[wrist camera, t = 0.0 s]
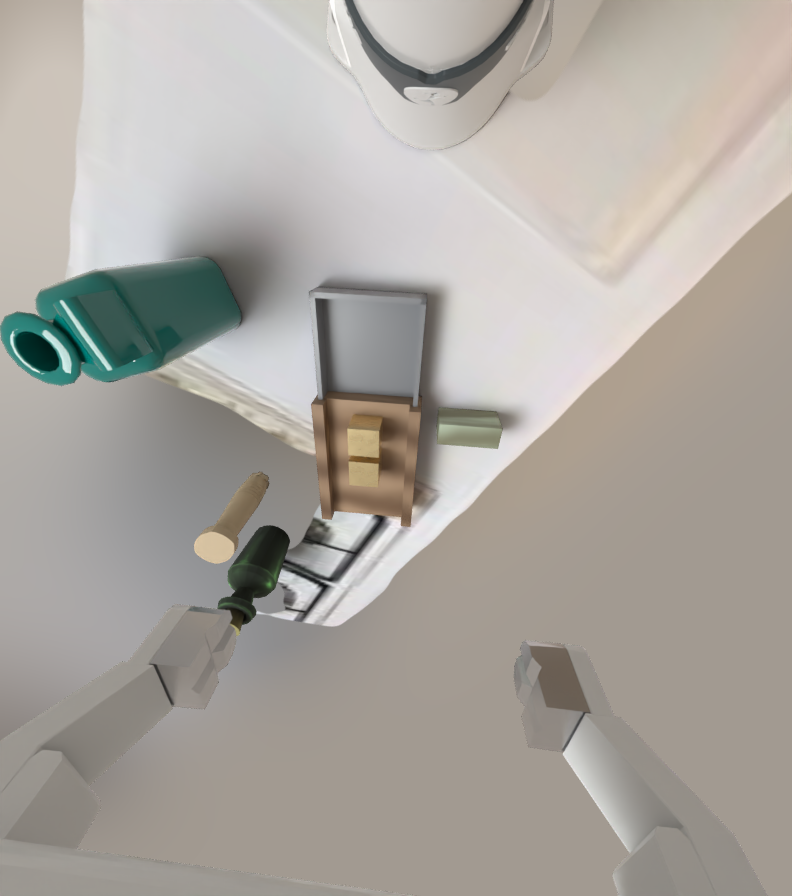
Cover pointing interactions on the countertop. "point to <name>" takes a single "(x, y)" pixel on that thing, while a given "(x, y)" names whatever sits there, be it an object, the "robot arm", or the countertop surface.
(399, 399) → the slot board
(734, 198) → the countertop surface
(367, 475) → the brass block
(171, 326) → the pitcher
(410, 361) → the tray
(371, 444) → the brass block
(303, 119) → the countertop surface
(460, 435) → the bar
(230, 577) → the potion bottle
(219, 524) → the handle
